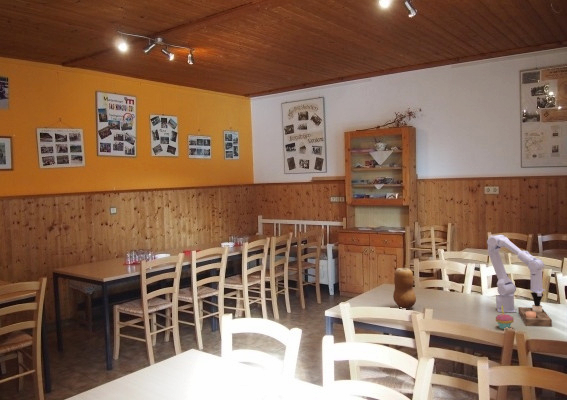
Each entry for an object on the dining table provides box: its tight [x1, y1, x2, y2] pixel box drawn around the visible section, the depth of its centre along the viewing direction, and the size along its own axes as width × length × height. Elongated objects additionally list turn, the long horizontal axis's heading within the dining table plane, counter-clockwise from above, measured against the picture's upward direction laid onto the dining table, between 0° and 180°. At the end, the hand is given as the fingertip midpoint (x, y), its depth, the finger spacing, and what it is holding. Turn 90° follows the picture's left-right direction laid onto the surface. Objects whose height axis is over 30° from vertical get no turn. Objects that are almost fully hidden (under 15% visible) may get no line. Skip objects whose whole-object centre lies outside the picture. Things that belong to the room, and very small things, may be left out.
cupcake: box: [495, 306, 514, 330], centre depth 244 cm, size 9×8×12 cm
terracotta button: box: [526, 311, 536, 318], centre depth 251 cm, size 5×5×5 cm
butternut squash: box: [392, 267, 417, 309], centre depth 288 cm, size 14×13×25 cm
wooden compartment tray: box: [517, 306, 553, 328], centre depth 255 cm, size 12×22×4 cm, turn 163°
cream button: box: [531, 304, 543, 312], centre depth 259 cm, size 5×5×5 cm
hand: (537, 305), depth 259 cm, fingers closed, pressing on cream button
